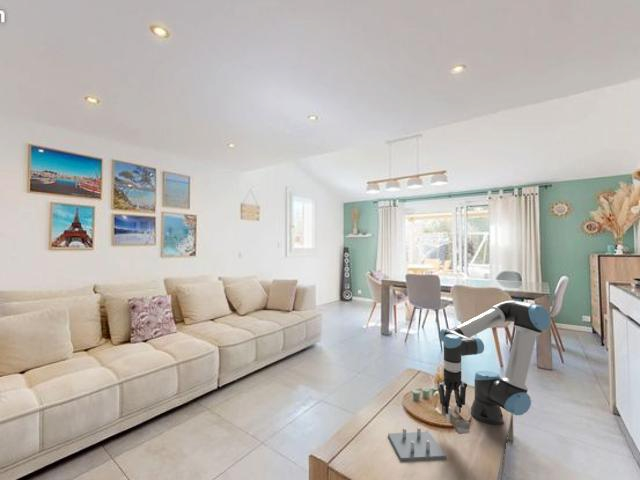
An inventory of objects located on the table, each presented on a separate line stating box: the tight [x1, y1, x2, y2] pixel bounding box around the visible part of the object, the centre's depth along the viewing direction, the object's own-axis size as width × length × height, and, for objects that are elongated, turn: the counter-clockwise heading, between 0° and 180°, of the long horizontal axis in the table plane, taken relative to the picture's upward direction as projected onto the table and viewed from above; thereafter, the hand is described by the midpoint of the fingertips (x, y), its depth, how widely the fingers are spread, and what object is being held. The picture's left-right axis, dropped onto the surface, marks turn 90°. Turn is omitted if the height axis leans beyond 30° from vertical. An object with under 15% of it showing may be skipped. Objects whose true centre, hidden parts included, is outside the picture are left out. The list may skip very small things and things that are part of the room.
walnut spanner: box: [441, 404, 471, 435], centre depth 134 cm, size 16×5×4 cm, turn 6°
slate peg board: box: [387, 426, 447, 462], centre depth 131 cm, size 20×16×5 cm
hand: (452, 419), depth 135 cm, fingers closed on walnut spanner, 3 cm apart
